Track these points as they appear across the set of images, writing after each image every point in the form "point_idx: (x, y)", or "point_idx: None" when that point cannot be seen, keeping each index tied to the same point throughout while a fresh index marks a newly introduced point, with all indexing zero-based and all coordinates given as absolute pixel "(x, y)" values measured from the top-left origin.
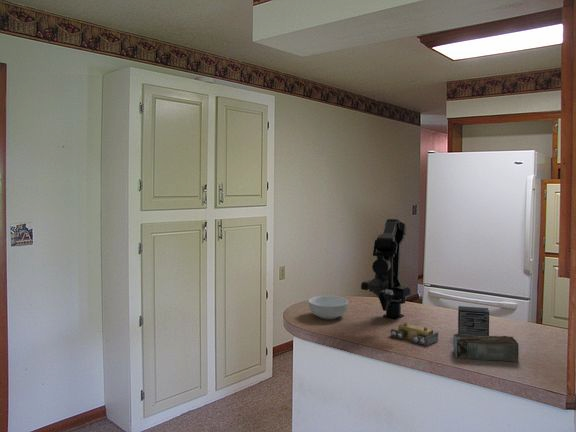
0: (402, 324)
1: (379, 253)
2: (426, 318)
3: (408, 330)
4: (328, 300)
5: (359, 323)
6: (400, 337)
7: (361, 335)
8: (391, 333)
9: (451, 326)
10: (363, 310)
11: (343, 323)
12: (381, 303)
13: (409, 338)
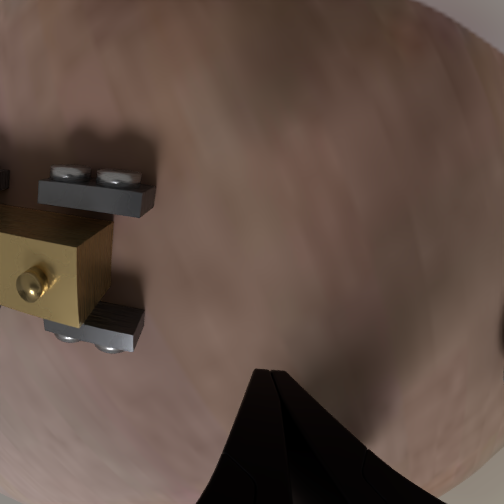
0: (58, 279)
1: None
2: (165, 500)
3: (12, 225)
4: None
5: (433, 317)
6: (68, 164)
7: (356, 89)
8: (136, 173)
9: (45, 456)
10: (424, 453)
11: (495, 265)
12: (336, 435)
13: (36, 211)
